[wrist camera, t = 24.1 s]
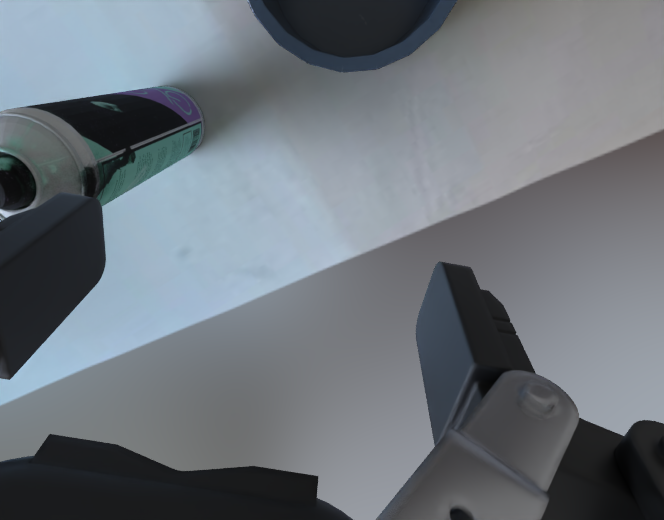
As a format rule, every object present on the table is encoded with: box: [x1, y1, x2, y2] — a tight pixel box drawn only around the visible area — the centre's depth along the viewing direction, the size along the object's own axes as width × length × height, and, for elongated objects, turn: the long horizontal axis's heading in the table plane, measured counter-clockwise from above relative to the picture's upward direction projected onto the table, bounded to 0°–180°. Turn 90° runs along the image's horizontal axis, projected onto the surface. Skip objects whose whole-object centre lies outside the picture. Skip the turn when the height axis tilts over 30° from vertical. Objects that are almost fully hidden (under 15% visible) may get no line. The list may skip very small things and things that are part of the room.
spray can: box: [0, 86, 205, 220], centre depth 27 cm, size 6×6×20 cm
